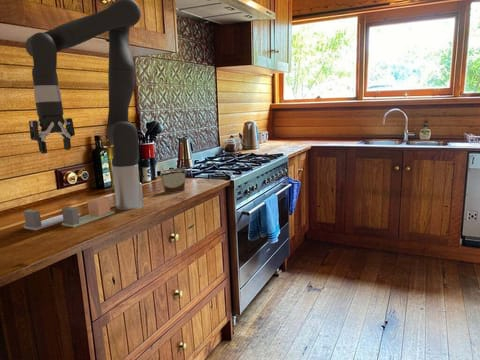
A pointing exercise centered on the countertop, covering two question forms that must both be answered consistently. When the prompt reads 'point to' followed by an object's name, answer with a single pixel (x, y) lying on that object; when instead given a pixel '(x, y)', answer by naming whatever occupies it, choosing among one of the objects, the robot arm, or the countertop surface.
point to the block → (98, 206)
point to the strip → (49, 222)
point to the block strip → (88, 219)
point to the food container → (173, 180)
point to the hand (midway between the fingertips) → (56, 151)
